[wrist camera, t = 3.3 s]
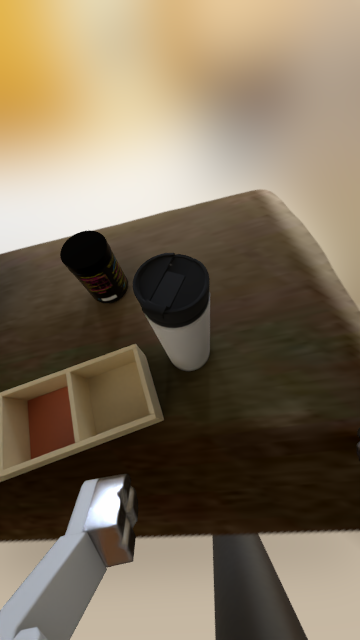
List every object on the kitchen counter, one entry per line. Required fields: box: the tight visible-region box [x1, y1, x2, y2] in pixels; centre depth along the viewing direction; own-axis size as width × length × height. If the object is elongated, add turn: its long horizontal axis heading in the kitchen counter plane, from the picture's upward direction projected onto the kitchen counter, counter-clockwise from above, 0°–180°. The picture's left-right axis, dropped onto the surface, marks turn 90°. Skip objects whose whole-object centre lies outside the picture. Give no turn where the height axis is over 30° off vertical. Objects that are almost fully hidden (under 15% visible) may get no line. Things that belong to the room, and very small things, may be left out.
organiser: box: [0, 344, 164, 482], centre depth 32 cm, size 10×28×6 cm, turn 109°
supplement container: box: [60, 231, 128, 303], centre depth 39 cm, size 7×7×10 cm
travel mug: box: [133, 253, 210, 371], centre depth 28 cm, size 6×7×20 cm
